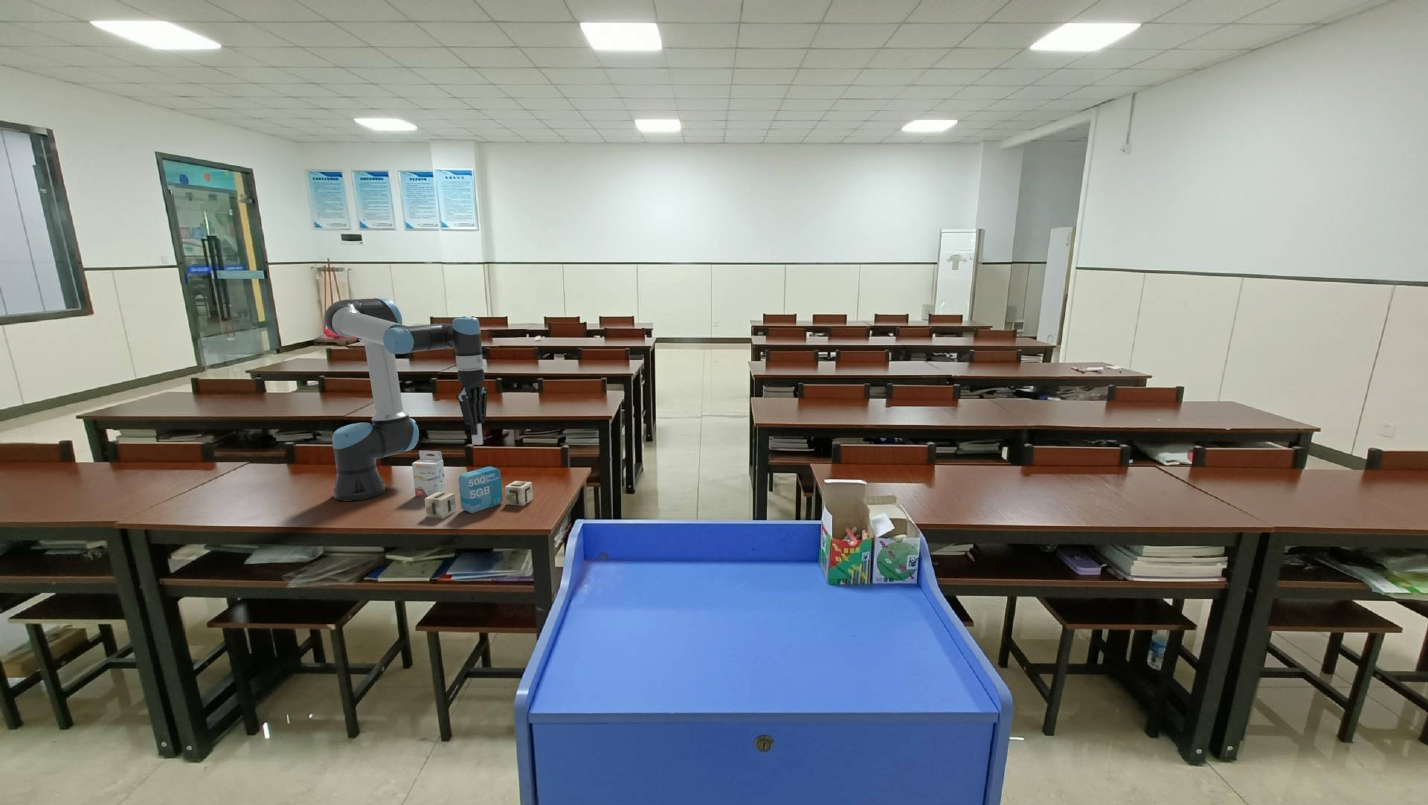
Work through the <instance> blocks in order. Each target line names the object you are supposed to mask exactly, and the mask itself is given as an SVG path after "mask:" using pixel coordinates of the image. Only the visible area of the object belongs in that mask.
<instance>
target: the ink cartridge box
mask: <svg viewBox="0 0 1428 805" xmlns="http://www.w3.org/2000/svg"><path fill="white" fill-rule="evenodd" d="M418 455H419V459H417V460H415V461H414V462H412V463H411V466H412V475H413V486H414V495H415V497H425V498H427V497H429V496H431V495H433V494H435V493H437V492H445V493H447V488H446V478H445V471H444V469H445V468H444V460H443V456H442V452H441V451H440V450H439V451H438V450H418Z"/></svg>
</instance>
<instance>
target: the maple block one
mask: <svg viewBox="0 0 1428 805" xmlns="http://www.w3.org/2000/svg"><path fill="white" fill-rule="evenodd" d="M424 505H425V507H424V508H425V514H426V515H425V516H426V517H427V518H434V519H443V520H444V519H446V518H447V517H449V516H451V515H452V514H454V513H456V512H457V507H456V496H455V492H453V493H452V492H437V493H435V494H433V495H431V496H429V497H425V498H424Z"/></svg>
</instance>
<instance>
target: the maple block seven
mask: <svg viewBox="0 0 1428 805" xmlns="http://www.w3.org/2000/svg"><path fill="white" fill-rule="evenodd" d="M504 488H505V489H504V490H505V502H506V503H505V504H506V505H509V504H510V505H511V506H518V507H519V506H520V507H522V506H523V507H524V506H525V505H527V504H528V503H531V501H533V500H532V499H534V495H533V482H532V481H522V480H514V481H513V482H511V483H509V484H507V485H506V486H505V487H504ZM526 503H527V504H526Z"/></svg>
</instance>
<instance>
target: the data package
mask: <svg viewBox="0 0 1428 805" xmlns="http://www.w3.org/2000/svg"><path fill="white" fill-rule="evenodd" d="M501 474H502V473H501V470H500V469H498V468H496V467H493V466H486V467H481V468H479V469H478V468H477V469H474V470H471V471H468V472H463V473H461V474H460V475H459V476H458V487H459V498H460V507H461V508H460V509H462V510H463V511H465V512H468V513H470V514H475V513H477V512H480V511H483V510H487V509H491V508H493V507H496V506H498V505H500V504H501V503H502V502H503V500H504V499H503V496H504V495H503V487H502V484H503V483H502V476H501ZM486 508H487V509H486Z"/></svg>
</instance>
